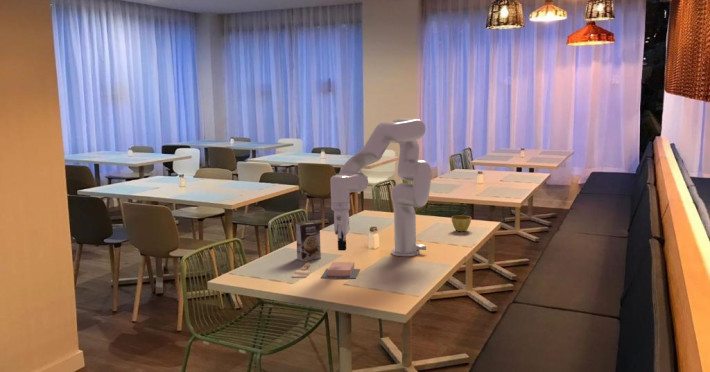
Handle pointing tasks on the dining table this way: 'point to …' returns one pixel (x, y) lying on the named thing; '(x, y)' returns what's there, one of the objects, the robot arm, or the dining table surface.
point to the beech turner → (302, 272)
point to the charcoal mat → (353, 276)
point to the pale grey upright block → (341, 269)
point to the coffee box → (308, 240)
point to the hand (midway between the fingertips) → (342, 249)
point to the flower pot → (461, 222)
